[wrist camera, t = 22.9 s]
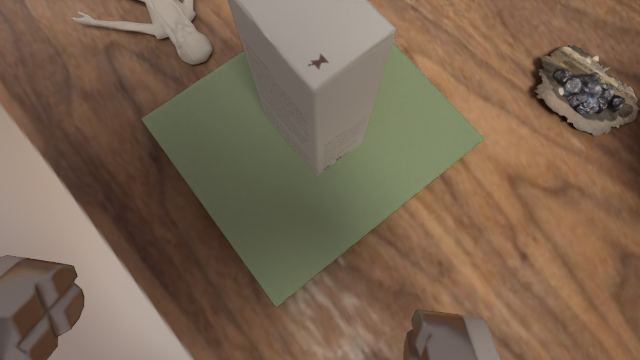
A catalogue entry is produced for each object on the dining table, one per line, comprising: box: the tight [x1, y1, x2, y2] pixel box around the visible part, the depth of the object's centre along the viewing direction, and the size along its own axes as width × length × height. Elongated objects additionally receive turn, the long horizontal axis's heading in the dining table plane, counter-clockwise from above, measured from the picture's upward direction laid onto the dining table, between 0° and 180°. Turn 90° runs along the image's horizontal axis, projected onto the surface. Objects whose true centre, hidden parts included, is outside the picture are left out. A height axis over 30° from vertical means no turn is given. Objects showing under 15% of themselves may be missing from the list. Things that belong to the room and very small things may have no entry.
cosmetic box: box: [228, 0, 396, 177], centre depth 20 cm, size 6×4×12 cm
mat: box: [142, 43, 484, 307], centre depth 26 cm, size 18×16×1 cm
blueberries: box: [535, 45, 640, 137], centre depth 26 cm, size 7×8×2 cm
